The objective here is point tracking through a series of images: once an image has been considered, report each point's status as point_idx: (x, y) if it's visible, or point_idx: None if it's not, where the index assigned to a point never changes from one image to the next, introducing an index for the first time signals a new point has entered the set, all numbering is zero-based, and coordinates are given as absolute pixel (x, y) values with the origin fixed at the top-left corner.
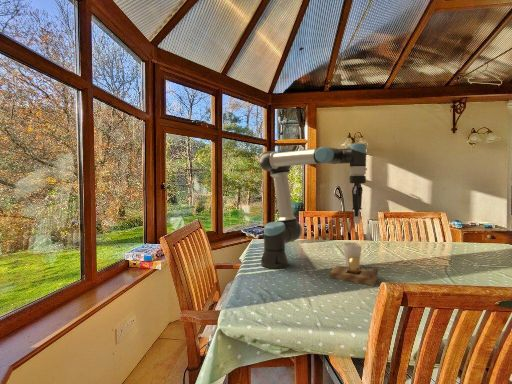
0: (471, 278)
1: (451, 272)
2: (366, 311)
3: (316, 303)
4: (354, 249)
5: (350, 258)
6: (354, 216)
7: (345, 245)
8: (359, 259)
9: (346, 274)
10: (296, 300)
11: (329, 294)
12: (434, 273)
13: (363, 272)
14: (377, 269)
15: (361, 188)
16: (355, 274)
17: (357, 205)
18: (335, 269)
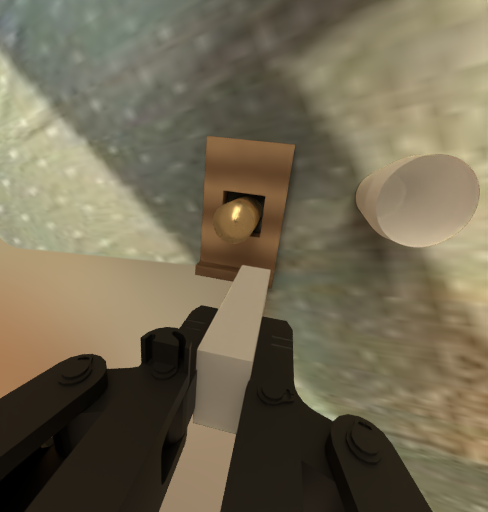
0: None
1: None
2: (71, 250)
3: (42, 147)
4: (369, 214)
5: (216, 210)
6: (227, 299)
7: (400, 165)
8: (229, 242)
9: (206, 195)
10: (26, 94)
11: (101, 165)
12: (367, 408)
13: (249, 243)
14: None
15: None
16: None
17: (1, 487)
18: (241, 150)
